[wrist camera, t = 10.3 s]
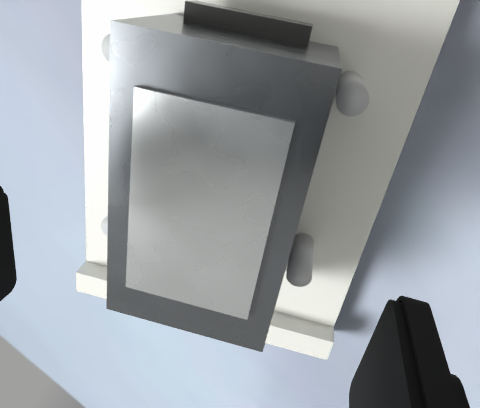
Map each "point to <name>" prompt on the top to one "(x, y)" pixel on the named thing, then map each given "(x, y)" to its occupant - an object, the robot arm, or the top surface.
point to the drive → (210, 164)
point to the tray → (330, 153)
